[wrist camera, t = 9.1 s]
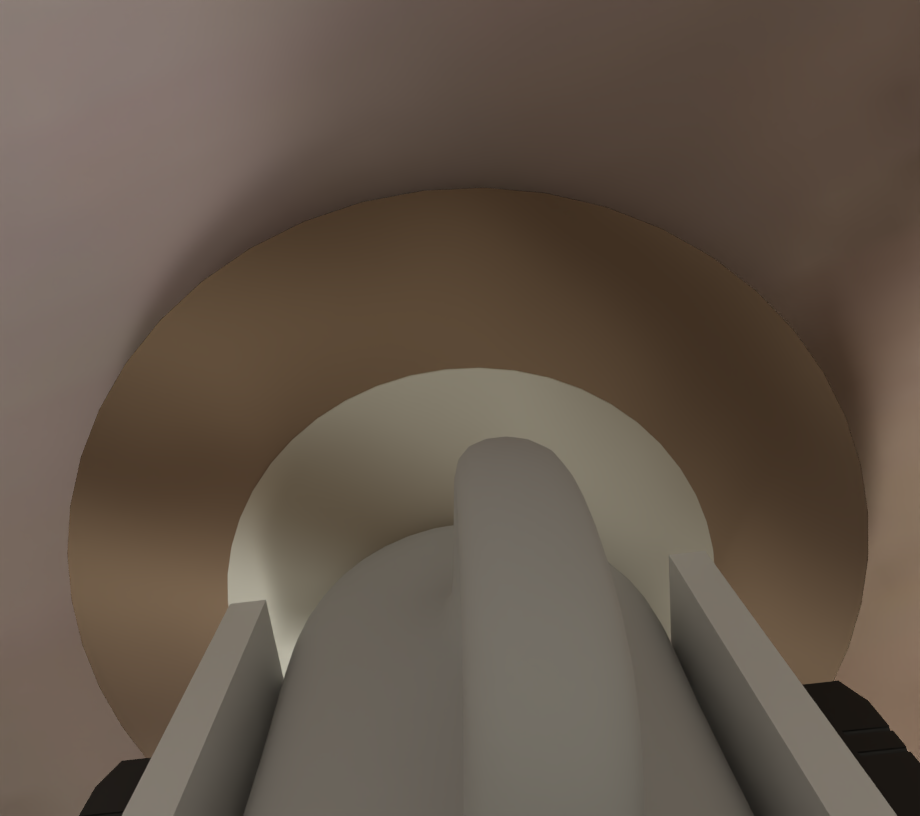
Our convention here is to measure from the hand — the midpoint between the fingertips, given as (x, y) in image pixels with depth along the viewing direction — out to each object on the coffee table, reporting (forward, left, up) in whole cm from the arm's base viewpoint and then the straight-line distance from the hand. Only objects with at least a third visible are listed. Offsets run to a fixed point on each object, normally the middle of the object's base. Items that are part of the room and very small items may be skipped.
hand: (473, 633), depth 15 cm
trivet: (0, 0, -2) cm, 2 cm away
